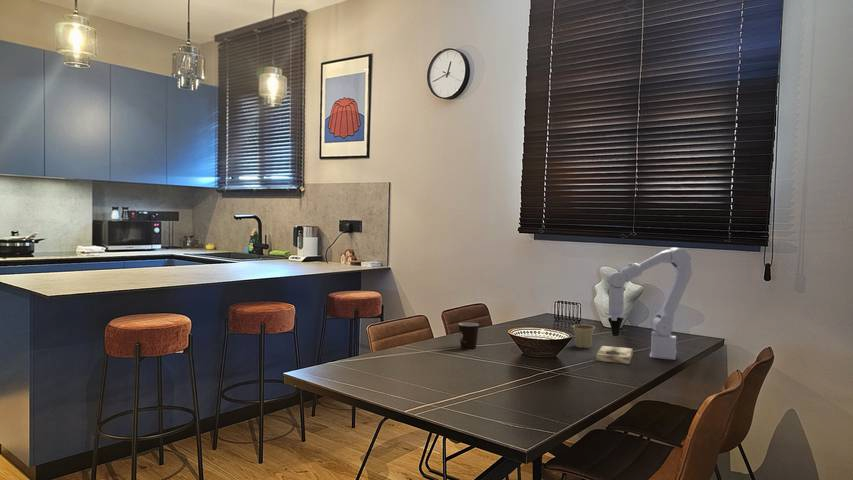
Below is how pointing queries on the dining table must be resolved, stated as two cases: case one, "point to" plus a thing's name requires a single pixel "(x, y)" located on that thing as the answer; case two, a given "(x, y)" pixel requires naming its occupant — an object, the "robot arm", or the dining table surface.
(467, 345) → the coffee mug
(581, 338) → the flower pot
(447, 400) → the dining table surface
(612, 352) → the ball
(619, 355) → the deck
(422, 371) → the dining table surface
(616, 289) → the robot arm
